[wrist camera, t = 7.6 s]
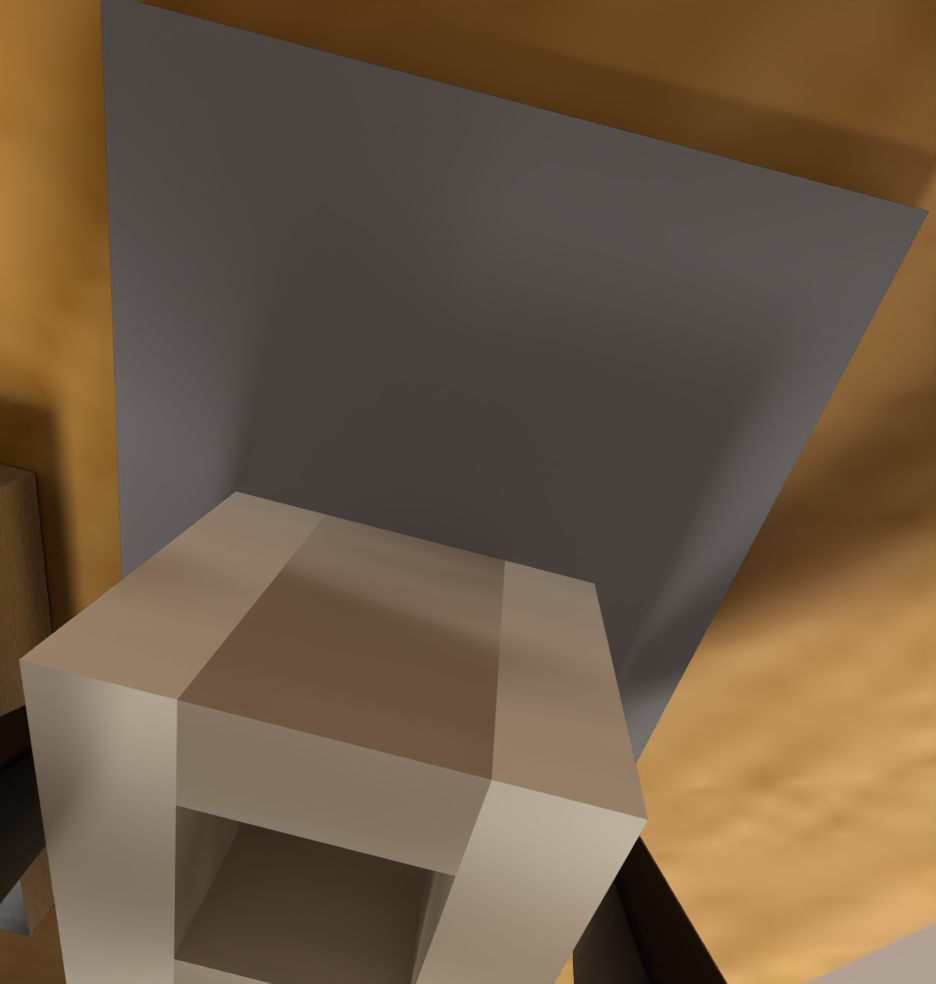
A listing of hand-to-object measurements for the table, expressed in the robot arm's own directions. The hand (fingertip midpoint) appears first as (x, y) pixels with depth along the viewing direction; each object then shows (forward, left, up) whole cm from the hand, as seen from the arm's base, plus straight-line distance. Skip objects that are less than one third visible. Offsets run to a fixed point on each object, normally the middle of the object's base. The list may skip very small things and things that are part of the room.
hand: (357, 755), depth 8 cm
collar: (0, 0, -2) cm, 2 cm away
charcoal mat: (0, 0, -2) cm, 2 cm away
